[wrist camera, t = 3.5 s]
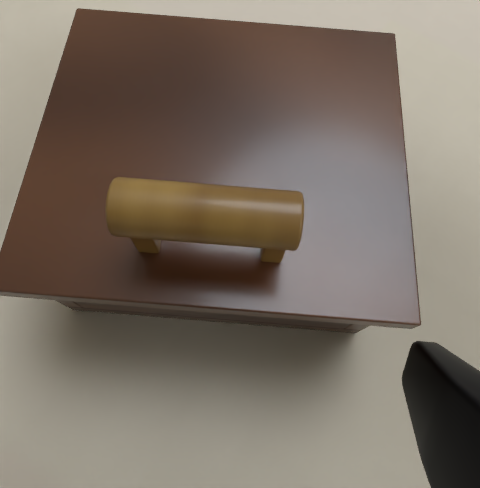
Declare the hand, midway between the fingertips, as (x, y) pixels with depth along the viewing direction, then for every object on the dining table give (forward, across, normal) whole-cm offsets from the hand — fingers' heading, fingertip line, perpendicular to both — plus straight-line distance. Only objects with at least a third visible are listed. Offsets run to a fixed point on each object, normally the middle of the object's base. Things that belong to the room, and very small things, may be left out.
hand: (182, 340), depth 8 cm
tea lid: (+9, 0, -2) cm, 9 cm away
